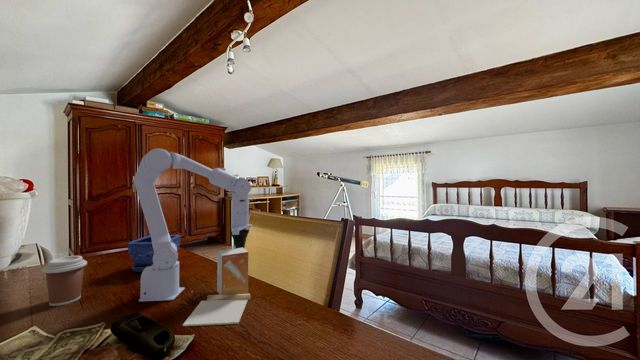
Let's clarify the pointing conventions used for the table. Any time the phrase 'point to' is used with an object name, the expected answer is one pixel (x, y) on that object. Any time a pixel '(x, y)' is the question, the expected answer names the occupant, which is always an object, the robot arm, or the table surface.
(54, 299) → the coffee cup
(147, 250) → the flower pot
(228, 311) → the mat
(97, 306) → the table surface
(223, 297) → the oak strip
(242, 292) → the small box
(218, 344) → the table surface
